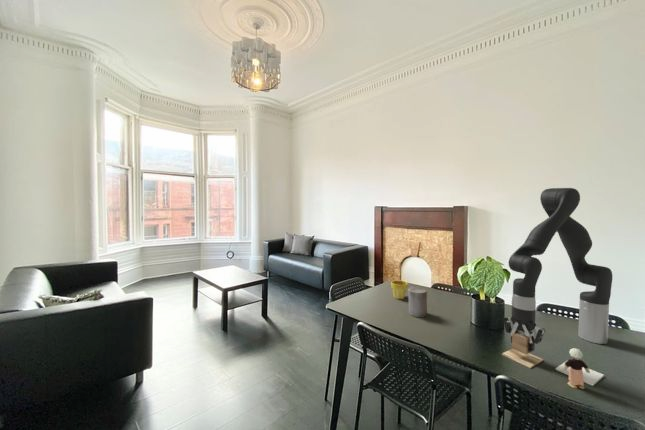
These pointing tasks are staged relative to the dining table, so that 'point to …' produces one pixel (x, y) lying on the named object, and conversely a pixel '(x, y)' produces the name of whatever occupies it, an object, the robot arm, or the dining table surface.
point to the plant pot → (399, 288)
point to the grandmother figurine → (576, 368)
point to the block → (520, 342)
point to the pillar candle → (417, 301)
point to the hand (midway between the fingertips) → (522, 347)
